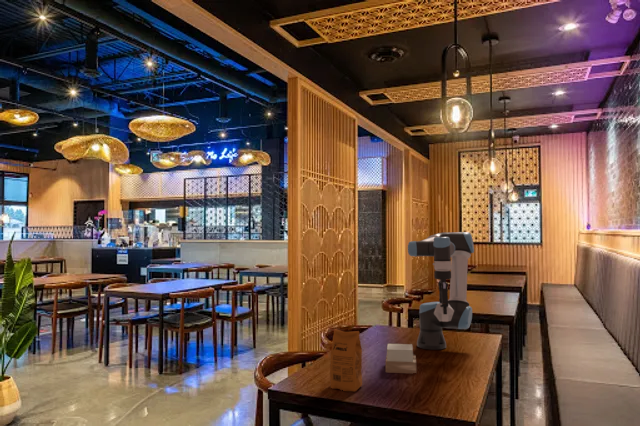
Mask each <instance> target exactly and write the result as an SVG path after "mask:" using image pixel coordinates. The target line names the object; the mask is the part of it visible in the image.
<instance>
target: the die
mask: <svg viewBox="0 0 640 426" xmlns="http://www.w3.org/2000/svg"><path fill="white" fill-rule="evenodd" d="M440 305H442V303H438V304H437V306H436V308H435V311H434V315H435V316H436V317H437V319H438V320H439V321H442V307H440ZM453 313H454V310H453V309H452V307H451V306H450V305H449V304H448V321H451V319H452V316H453Z"/></svg>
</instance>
